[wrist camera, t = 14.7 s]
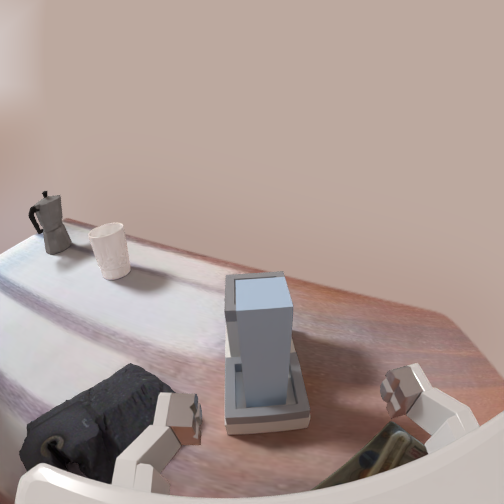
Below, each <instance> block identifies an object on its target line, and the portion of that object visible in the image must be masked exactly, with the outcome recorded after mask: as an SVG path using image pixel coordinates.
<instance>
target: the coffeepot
mask: <svg viewBox="0 0 504 504" xmlns="http://www.w3.org/2000/svg"><path fill="white" fill-rule="evenodd" d="M42 194H43V196H44V198H43V199H42V200H41V201H39V202H38V203H36V204H35V205H34V206H33V207H31V208H30V211H29V218H30V220H31V222H32V224H33V225H34V227H35V229H36V230H37V232H38V234H41V233H43V235H44V242H45V249H46V252H47V253H48V254H56V253H59V252H62V251H64V250H66V249H67V248H68V247H69V246H70V245H71V242H72V241H71V239H70V237H69V235H68V233H67V231H66V228H65V226H64V225H63V223H62V208H61V197H60V195H57V196H48V197H47V191H44V192H43V193H42ZM34 213H36V215H37V218H38V220H39V222H40V225H41V226H43V229H41V230H40V228H39V225H38V223H37V222H36V219H35V217H34ZM43 230H44V232H43Z"/></svg>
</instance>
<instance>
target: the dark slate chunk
mask: <svg viewBox="0 0 504 504" xmlns="http://www.w3.org/2000/svg"><path fill="white" fill-rule="evenodd" d="M160 392H162V393H176V392H174V391H173V390H172V389H171V388H170V386H168V385H167V384H165V383H164V382H162V381H161V380H159V378H158V377H156V376H155V375H153V374H151V373H149V372H147V371H145V370H144V369H143V368H142V367H140V366H137V365H133V364H131V363H130V364H128V365H126V366H125V367H123V368H122V369H120V370H119V371H117V372H116V373H115V374H113V375H112V376H111V377H109V378H108V379H106V380H103V381H102V382H100V383H98V384H97V385H95V386H94V387H92V388H90V389H88V390H86V391H83V392H82V393H80V394H78V395H77V396H75V397H73V398H72V399H71V400H66V401H65V402H64V403H62V404H60V405H59V406H56V407H55V408H53V409H51V410H50V411H49V412H47V413H45V414H43V415H42V416H40V417H39V418H37V419H36V420H35V421H31V422H30V423H29V424H27V437H26V438H25V440H24V443H23V446H22V448H21V450H20V451H19V455H20V459H21V461H22V462H23V464H24V466H25V468H26V470H27V472H28V471H29V470H30V469H32V468H33V467H35V466H36V465H38V464H40V463H45V464H49V465H51V466H54V467H57V468H59V469H62V470H65V471H67V472H68V470H67V469H66V467H65V465H66V463H67V464H68V463H69V462H73V463H74V462H76V463H77V464H79V468H80V470H81V471H82V472H83V473H84V474H85V475H86V476H87V477H88V478H89V479H92V480H96V481H99V482H103V483H107V484H112V479H113V473H114V468H115V463H116V458H117V457H118V456H119V455H120V454H121V453H122V452H123V451H124V450H125V449H126V448H127V447H128V446H129V445H130V444H131V443H132V442H133V441H134V440H135V439H136V438H137V437H138V436H139V435H140V434H141V433H142V432H143V431H144V430H145V429H146V428H147V427H148V426H149V425H153V423H154V417H155V412H156V406H157V401H158V396H159V394H160Z"/></svg>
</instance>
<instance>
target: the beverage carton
mask: <svg viewBox="0 0 504 504" xmlns="http://www.w3.org/2000/svg"><path fill="white" fill-rule="evenodd" d="M426 455H428V452H427V449H426V447H425V445H423V444H422V443H421V442H420V441H418V440H417V439H415V438H414V437H413V436H411V435H410V434H409V433H407V432H406V431H405V430H404V429H403V428H401V427H400V426H399V425H397V424H396V423H394V422H392V421H391V422H389V423H388V424H387V425H386V426H385V427H384V428H383V429H382V430H381V432H379V433H378V434H377V435H376V436H375V437H374V438H373V439H372V440H371V441H370V442H369V443H368V444H367V445H366V446H365V447H363V448H362V449H361V450H360V451H359V452H358V453H357V454H356V455H355V456H354V457H353V458H352V459H350V460H349V461H348V462H347V463H346V464H344V465H343V466H342V467H341V468H340V469H338V470H337V471H336V472H334V473H333V474H332V475H331V476H329V477H328V478H327V479H325V480H324V481H323V482H321V483H320V484H319V485H317V486H316V487H315V488H313V489H312V490H317V489H323V488H327V487H332V486H336V485H341V484H345V483H349V482H353V481H356V480H360V479H363V478H367V477H370V476H373V475H376V474H379V473H382V472H385V471H388V470H391V469H394V468H396V467H399V466H402V465H404V464H407V463H409V462H412V461H414V460H417V459H419V458H421V457H423V456H426ZM312 490H310V491H312Z"/></svg>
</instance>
